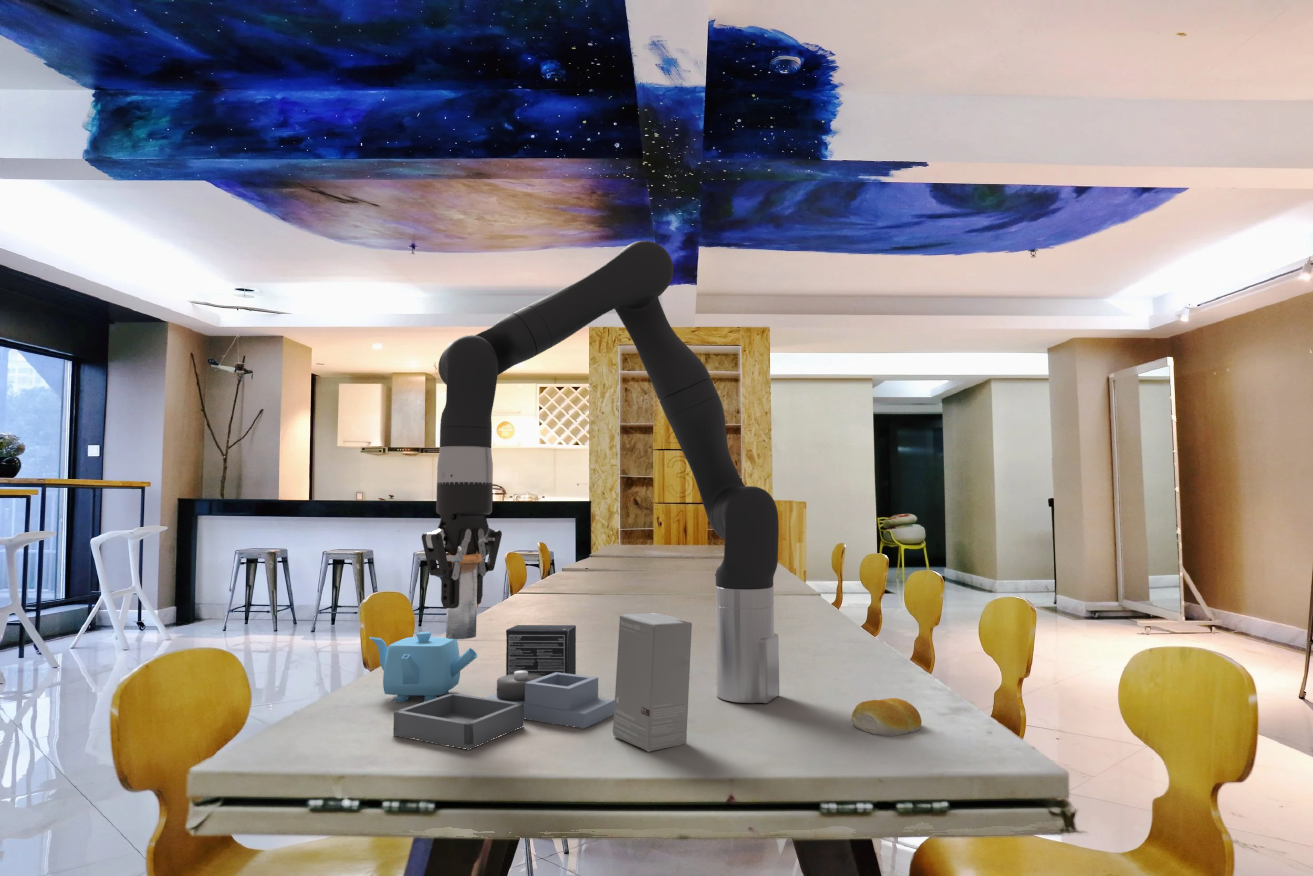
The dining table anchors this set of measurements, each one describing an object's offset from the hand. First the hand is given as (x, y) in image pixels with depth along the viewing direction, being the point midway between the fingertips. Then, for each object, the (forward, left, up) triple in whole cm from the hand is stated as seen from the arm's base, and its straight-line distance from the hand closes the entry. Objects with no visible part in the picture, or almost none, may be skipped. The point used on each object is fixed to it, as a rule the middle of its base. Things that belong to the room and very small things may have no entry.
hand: (462, 605), depth 102 cm
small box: (+3, -23, -17) cm, 28 cm away
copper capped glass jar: (0, 0, -4) cm, 4 cm away
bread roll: (-51, -28, -17) cm, 61 cm away
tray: (0, 0, -17) cm, 17 cm away
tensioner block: (-6, -13, -17) cm, 22 cm away
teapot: (+18, -11, -17) cm, 27 cm away
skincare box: (-25, -9, -17) cm, 31 cm away
